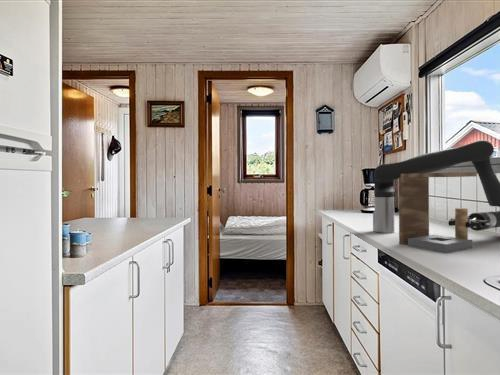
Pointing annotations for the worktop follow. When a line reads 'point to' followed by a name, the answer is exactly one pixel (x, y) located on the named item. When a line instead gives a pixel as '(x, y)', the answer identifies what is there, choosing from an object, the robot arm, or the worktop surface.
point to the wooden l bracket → (417, 203)
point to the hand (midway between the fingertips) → (457, 223)
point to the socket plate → (440, 243)
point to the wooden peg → (461, 223)
